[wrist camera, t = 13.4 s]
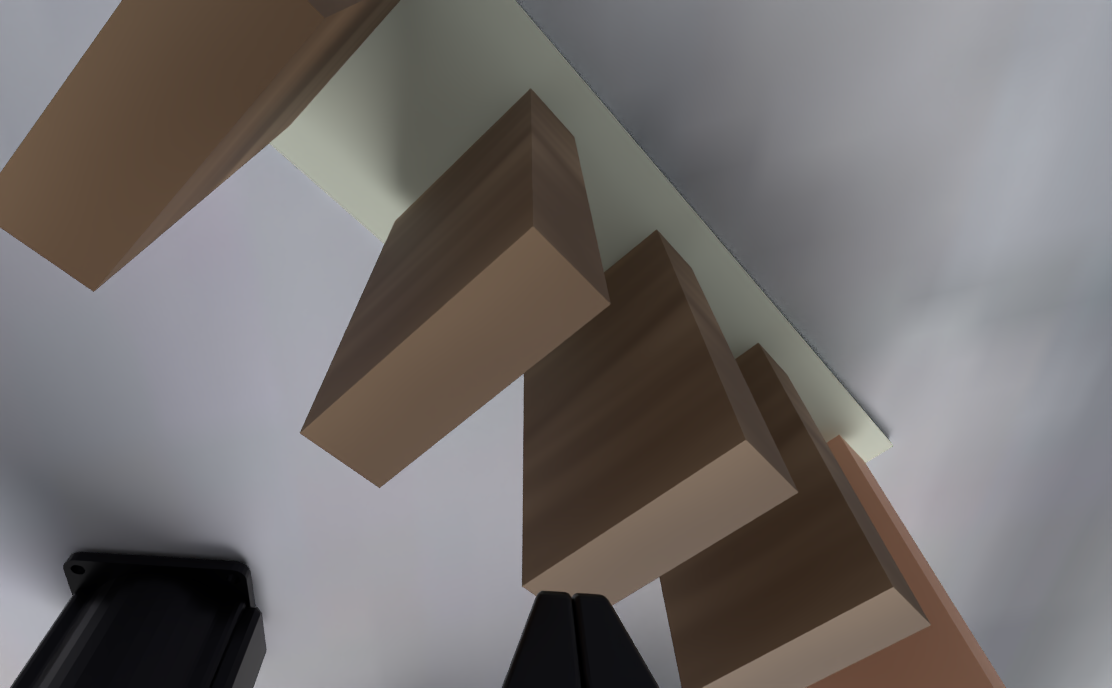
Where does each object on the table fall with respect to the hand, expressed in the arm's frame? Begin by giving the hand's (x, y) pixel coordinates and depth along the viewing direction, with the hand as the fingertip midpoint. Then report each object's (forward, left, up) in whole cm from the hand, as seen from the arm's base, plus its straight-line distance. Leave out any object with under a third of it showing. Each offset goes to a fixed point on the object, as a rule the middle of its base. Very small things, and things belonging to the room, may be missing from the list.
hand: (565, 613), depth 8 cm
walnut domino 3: (+2, -2, -12) cm, 12 cm away
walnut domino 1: (-6, +4, -12) cm, 14 cm away
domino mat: (+2, -2, -13) cm, 13 cm away
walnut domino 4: (+6, -5, -12) cm, 14 cm away
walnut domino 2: (-2, +1, -12) cm, 12 cm away
